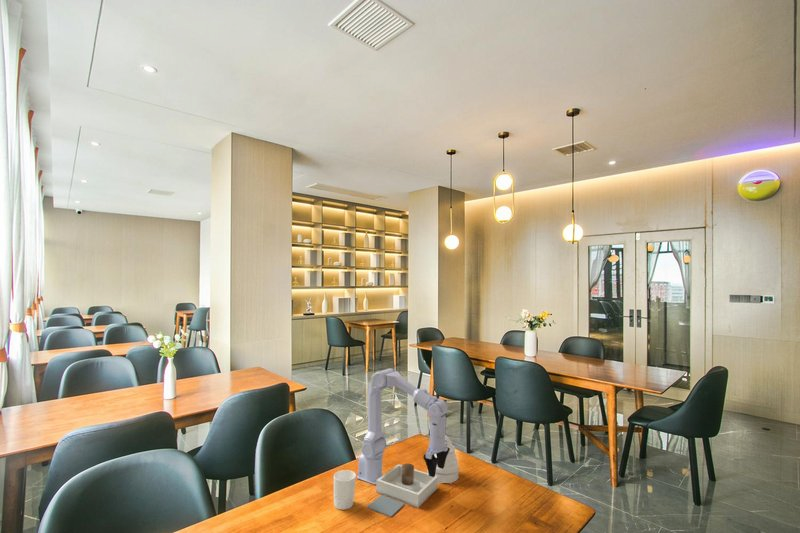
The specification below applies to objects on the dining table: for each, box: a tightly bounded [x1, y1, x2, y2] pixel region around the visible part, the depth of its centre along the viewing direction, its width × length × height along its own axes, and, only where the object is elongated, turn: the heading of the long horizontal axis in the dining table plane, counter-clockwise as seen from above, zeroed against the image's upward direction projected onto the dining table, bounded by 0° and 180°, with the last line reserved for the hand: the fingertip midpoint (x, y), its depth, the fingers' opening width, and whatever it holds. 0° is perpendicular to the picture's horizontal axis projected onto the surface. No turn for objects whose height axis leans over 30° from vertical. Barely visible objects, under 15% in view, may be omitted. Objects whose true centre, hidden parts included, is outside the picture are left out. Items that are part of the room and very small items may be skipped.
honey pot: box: [434, 434, 460, 484], centre depth 157 cm, size 13×13×18 cm
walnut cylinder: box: [401, 463, 415, 485], centre depth 144 cm, size 4×4×6 cm
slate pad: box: [366, 494, 406, 518], centre depth 133 cm, size 10×9×1 cm
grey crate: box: [375, 463, 439, 509], centre depth 144 cm, size 18×16×4 cm
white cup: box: [333, 469, 357, 511], centre depth 133 cm, size 8×8×10 cm
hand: (436, 471), depth 138 cm, fingers open, 7 cm apart
